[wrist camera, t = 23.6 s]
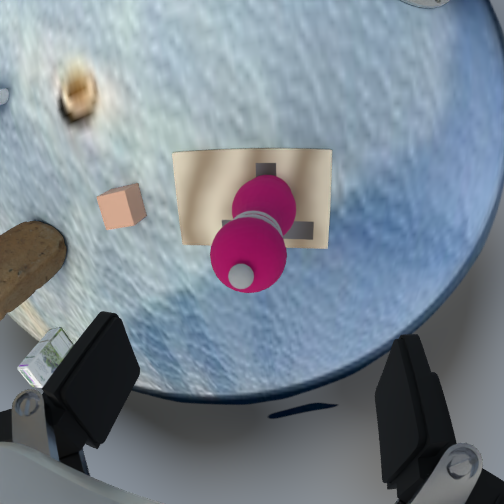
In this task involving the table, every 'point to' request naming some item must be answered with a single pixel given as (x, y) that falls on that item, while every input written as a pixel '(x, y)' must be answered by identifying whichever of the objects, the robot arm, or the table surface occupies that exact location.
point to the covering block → (122, 206)
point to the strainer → (3, 96)
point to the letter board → (240, 172)
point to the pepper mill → (255, 235)
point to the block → (27, 261)
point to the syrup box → (45, 357)
